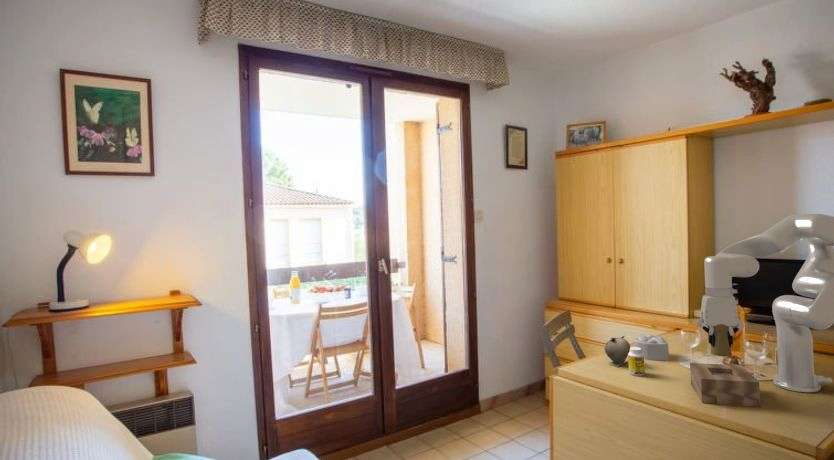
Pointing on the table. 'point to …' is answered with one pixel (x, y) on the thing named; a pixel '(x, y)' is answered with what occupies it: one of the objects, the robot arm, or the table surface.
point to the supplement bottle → (636, 361)
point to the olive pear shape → (721, 341)
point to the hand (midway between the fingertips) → (720, 345)
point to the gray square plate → (721, 374)
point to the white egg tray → (653, 347)
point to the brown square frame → (725, 384)
